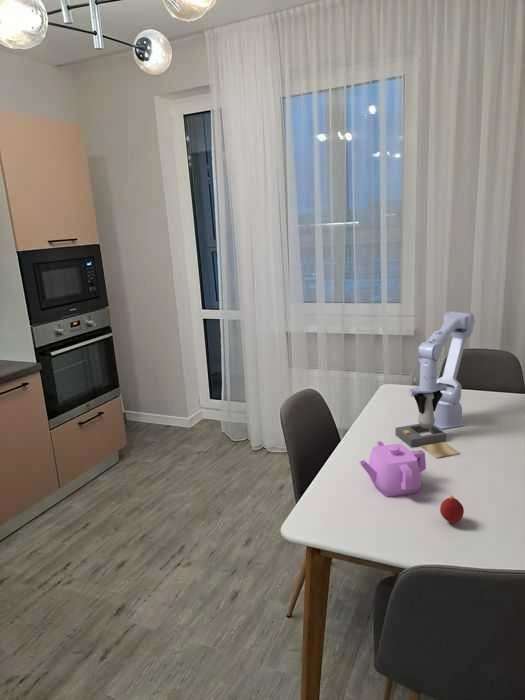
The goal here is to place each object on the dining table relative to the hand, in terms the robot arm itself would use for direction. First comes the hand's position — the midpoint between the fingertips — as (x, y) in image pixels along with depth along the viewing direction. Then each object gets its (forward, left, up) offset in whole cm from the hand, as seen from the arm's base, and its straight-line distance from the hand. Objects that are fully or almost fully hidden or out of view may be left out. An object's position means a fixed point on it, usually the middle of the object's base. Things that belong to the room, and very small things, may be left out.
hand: (426, 411), depth 176 cm
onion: (+22, +47, -11) cm, 53 cm away
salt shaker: (0, 0, -6) cm, 6 cm away
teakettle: (+27, +24, -11) cm, 37 cm away
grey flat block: (+2, -1, -10) cm, 11 cm away
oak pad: (+1, +10, -10) cm, 15 cm away
